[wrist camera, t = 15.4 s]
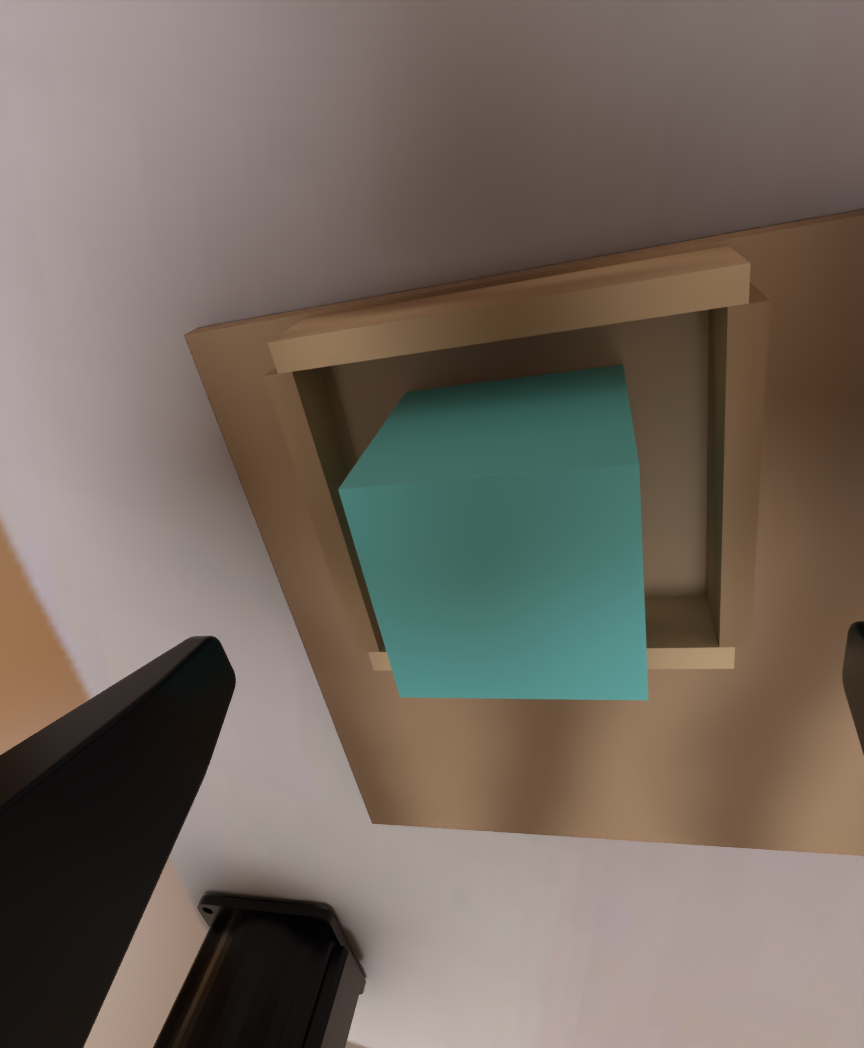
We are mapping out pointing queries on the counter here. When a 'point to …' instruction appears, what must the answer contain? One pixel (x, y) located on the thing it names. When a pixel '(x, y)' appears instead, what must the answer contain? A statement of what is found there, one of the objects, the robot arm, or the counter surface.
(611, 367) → the block
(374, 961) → the counter surface
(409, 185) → the counter surface
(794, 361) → the board
